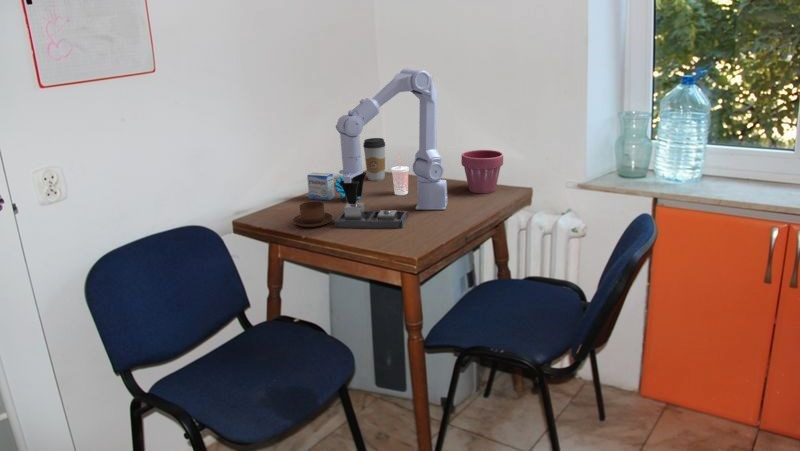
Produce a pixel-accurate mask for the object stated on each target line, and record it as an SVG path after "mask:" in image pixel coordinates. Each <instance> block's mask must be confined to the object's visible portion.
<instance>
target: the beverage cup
mask: <svg viewBox="0 0 800 451" xmlns="http://www.w3.org/2000/svg"><path fill="white" fill-rule="evenodd" d="M390 170H391V172H392V182H393V191H394V195H398V196H405V195H407V194H408V193H409V171H410V167H409V166H406V165H405V166H404V165H401V153H398V165H397V166H393V167H391V168H390Z"/></svg>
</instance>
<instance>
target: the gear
mask: <svg viewBox="0 0 800 451" xmlns="http://www.w3.org/2000/svg"><path fill="white" fill-rule="evenodd" d="M340 181H344V176H341V177H340V178H337V179H336V180H335V184H334V188H336V190H335V191H336V193H340V195H339V198H340V199H342V200H343V198H344V197H345V200H346V201H347V198H346V195H345V192H344V190H343V188H342V187H341V185H340ZM360 199H361V197H356V201H357V200H360Z"/></svg>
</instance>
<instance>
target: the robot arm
mask: <svg viewBox="0 0 800 451" xmlns="http://www.w3.org/2000/svg"><path fill="white" fill-rule="evenodd" d="M433 78H434V77H433V75H431V74H430V73H429V72H428V71H426V70H425V69H413V68H409V67H406V68H403V69H402V70H401V71H400V72H398V73H396V74H395V75H394V77H393V78H392V79H391V80H390V81H389V82H388V83H387V84H386V85H385V86H384V87H383V88H382V89H380V90H379V92H378V93H377V94H376V95H374V96H373V97H372V98H370V97H368V98H365V99H363V98H361V100H359V104H357V105H356V106H355V107H354V108H353V109H352V110H351V109H349V110H348V112H347V113H348V114H343V115H342V116H340V117H339V118H338V119H337V122H336V125H335V128H336V131H337V132H338V133H339V135H340V136H339V138H340V150H341V162H342V163H341V164H342V169H340V170H339V172H338V173H339V174H341V175H343V177H344V181H341V180H340V185H341V187H342V188H343V190H344V192H345V195H346V196H345V199H346V198H347V200H346V201H347V204H356V203H357V199H356V197H360V198H361V197H362V195H363V187H364V181H365V178H366V176H367V171H366V172H365V171H364V169H363V163H362V147H361V139H360V138H361V137H360V134H361V133H362V132H363V129H364V126H366V125H367V124H368V123H370V121H371V120H373V119H374V118H375V117H377V115H378V114H379V113H380V108H381V107H382V106H383V105H385V104H386V103H388V102H389V101H390V100H391V99H393V98H394V97H395V96H396V95H398V94H399V93H403V92H404V93H405V92H411V93H412V94H413V95H414V96H416V97H417V99H418V100H419V121H418V122H419V123H418V124H419V127H418V128H419V130H418V132H419V134H418V135H419V136H418V138H419V142H418V143H419V144H418V151H416V153H415V156H414V161H413V164H412V172H413V173H414V174H415V175H416V180H417V181H416V182H417V185H416V186H417V187H416V188H417V204H416V206H415V210H418V211H419V210H422V211H423V210H431V211H432V210H441V211H442V210H446V208H447V205H448V183H447V180H446V179H441V178H442V177H443V175H444V171H445V170H444V165H443V163H442V156H441V155H440V153H439V152H438V150H437V148H438V147H437V146H438V145H437V143H438V142H437V141H438V140H437V139H438V138H437V136H438V135H437V134H438V92H437V91H438V90H437V88H436V87H435V84H434V82H433Z"/></svg>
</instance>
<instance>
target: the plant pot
mask: <svg viewBox="0 0 800 451" xmlns="http://www.w3.org/2000/svg"><path fill="white" fill-rule="evenodd" d="M503 165H504V153H502V152H501V151H498V150H494V149H474V150H473V149H472V150H467V151H464V152H462V153H461V166H462V167H463V168H464V173H465V177H466V181H467V185H468V190H469V191H470V192H471V193H474V194H489V193H493V192H494V191H496V190H497V184H498V180H499V176H500V170H501V167H502V166H503Z"/></svg>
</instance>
